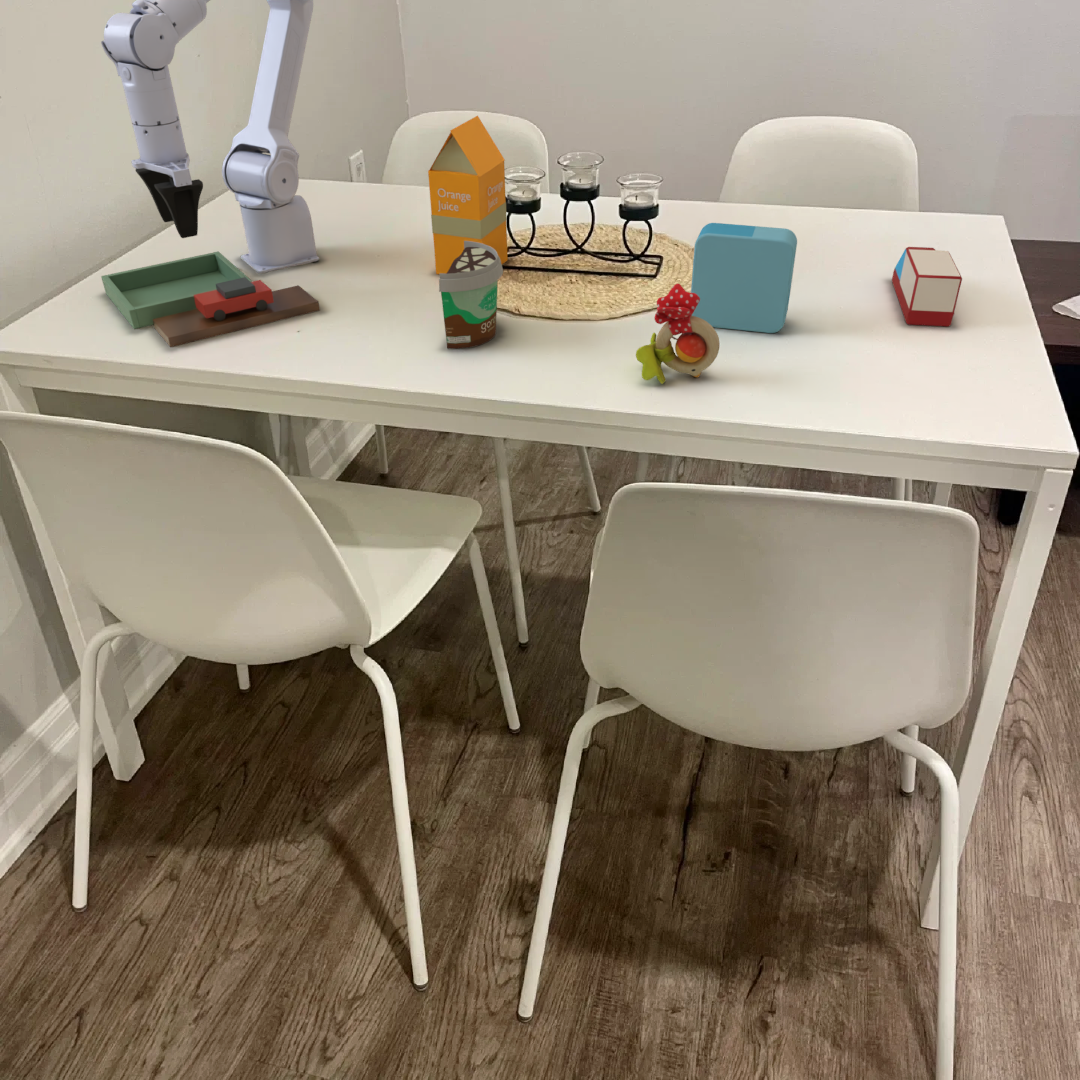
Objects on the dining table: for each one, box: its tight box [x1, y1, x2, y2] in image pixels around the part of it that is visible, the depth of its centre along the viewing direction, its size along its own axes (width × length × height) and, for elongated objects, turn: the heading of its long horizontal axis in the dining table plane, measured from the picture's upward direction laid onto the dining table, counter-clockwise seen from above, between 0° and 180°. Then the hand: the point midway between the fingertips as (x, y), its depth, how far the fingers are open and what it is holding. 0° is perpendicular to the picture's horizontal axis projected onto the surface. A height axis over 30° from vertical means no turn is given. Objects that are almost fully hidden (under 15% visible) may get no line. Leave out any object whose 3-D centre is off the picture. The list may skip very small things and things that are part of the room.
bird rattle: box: [635, 283, 721, 385], centre depth 114 cm, size 6×11×9 cm
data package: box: [690, 222, 798, 334], centre depth 125 cm, size 12×4×12 cm, turn 73°
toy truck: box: [891, 246, 963, 328], centre depth 131 cm, size 6×15×7 cm, turn 171°
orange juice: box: [427, 115, 509, 275], centre depth 140 cm, size 8×9×20 cm
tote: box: [100, 251, 253, 330], centre depth 137 cm, size 17×15×3 cm
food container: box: [438, 241, 504, 350], centre depth 124 cm, size 12×6×10 cm, turn 168°
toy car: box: [194, 277, 274, 321], centre depth 129 cm, size 9×4×3 cm, turn 123°
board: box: [153, 284, 321, 348], centre depth 131 cm, size 20×7×2 cm, turn 123°
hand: (180, 228), depth 133 cm, fingers open, 7 cm apart
